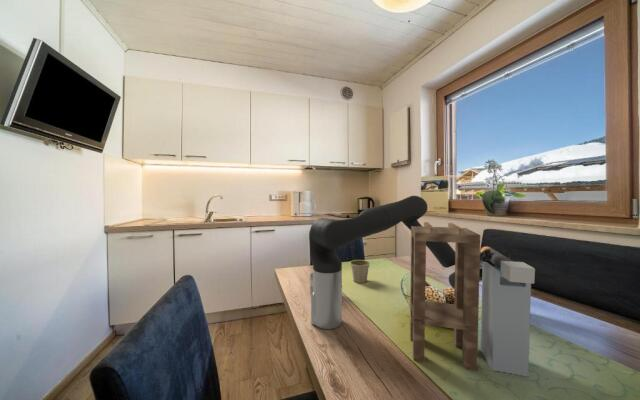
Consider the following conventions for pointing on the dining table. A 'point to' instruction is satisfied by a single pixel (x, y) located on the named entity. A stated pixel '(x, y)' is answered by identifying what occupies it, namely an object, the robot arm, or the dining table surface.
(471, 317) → the walnut stand
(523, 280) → the light grey bar
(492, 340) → the box
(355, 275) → the flower pot
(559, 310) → the dining table surface
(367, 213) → the robot arm
